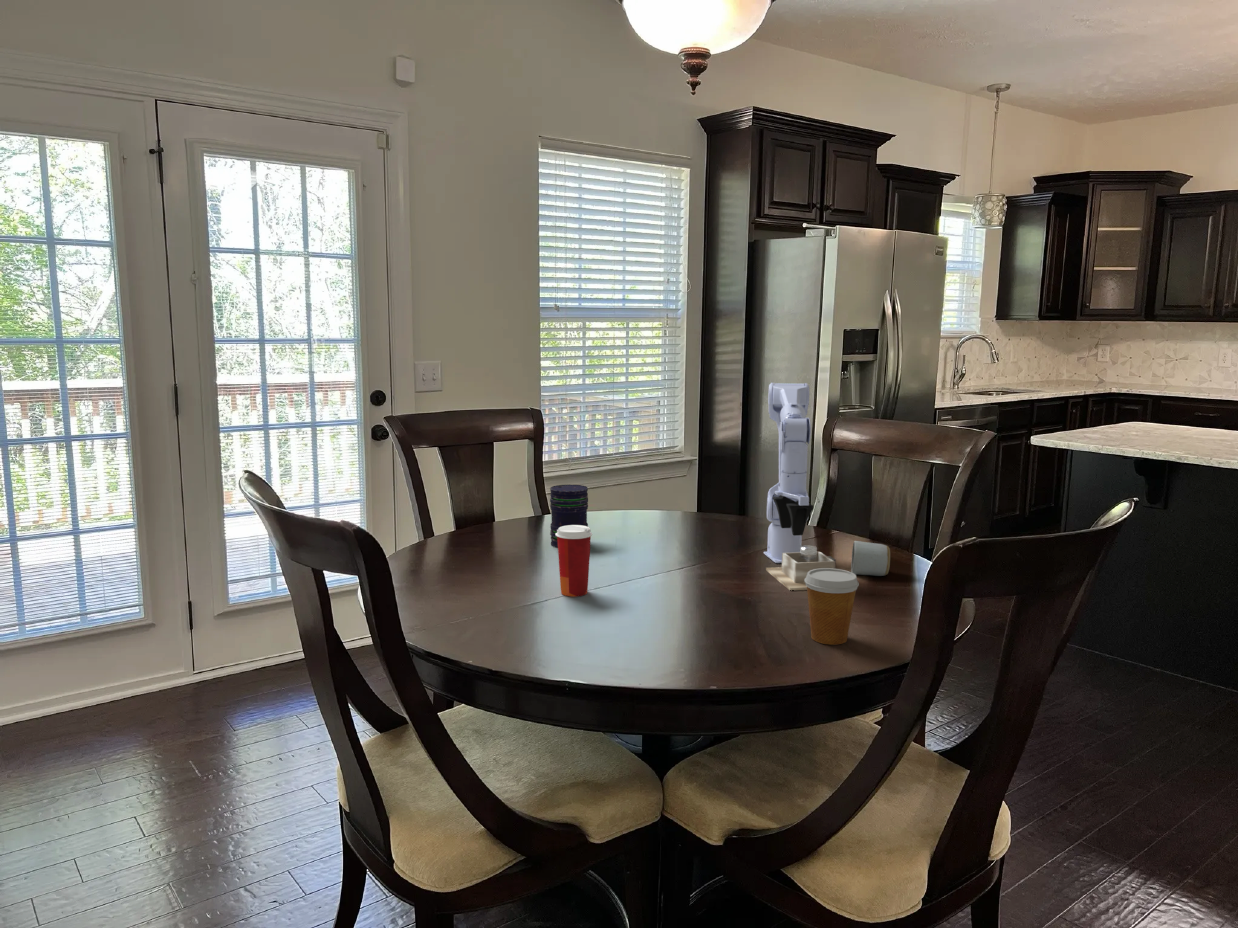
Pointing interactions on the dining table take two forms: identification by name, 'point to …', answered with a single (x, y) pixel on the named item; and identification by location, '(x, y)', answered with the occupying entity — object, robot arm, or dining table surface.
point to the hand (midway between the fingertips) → (791, 531)
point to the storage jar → (567, 507)
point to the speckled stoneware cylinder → (870, 559)
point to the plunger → (808, 552)
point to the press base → (799, 569)
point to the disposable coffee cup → (830, 603)
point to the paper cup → (574, 559)
